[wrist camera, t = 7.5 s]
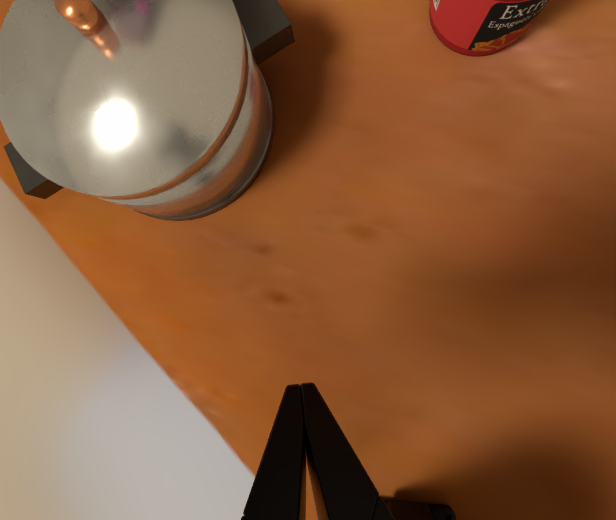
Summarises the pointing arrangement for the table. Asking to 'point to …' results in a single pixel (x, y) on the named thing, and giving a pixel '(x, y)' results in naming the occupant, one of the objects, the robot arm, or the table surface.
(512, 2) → the canned food
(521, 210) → the table surface
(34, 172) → the cooker pot
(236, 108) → the cooker lid
